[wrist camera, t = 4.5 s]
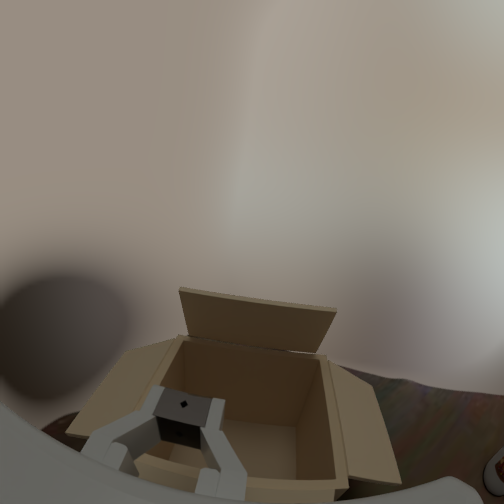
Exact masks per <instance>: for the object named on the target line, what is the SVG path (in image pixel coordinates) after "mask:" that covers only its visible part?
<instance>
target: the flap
mask: <svg viewBox="0 0 504 504" xmlns="http://www.w3.org/2000/svg"><path fill="white" fill-rule="evenodd" d="M179 294H180V299H181V303H182V308H183V312H184V317H185V321H186V325H187V329H188V333H189V335H191V336H196V337H201V338H206V339H212V340H218V341H223V342H230V343H236V344H242V345H249V346H256V347H264V348H272V349H280V350H289V351H299V352H310V353H316V351H317V350H318V348H319V346H320V344H321V342H322V340H323V338H324V337H325V335H326V333H327V331H328V329H329V327H330V325H331V323H332V321H333V319H334V317H335V315H336V313H337V309H336V308H331V307H321V306H312V305H303V304H294V303H287V302H279V301H271V300H263V299H256V298H248V297H242V296H235V295H228V294H221V293H215V292H209V291H202V290H196V289H190V288H184V287H180V288H179Z"/></svg>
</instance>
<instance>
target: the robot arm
mask: <svg viewBox="0 0 504 504" xmlns="http://www.w3.org/2000/svg"><path fill="white" fill-rule="evenodd" d="M225 402H226V400H224V399H218V398H213V397H208V396H202V395H197V394H192V393H186V392H182V391H178V390H174V389H170V388H167V387H163V386H159V385H155V384H154V385H153V386H152V387H151V389H150V391H149V393H148V395H147V397H146V399H145V401H144V403H143V405H142V407H141V409H140V411H137V410H136V411H134V412H132V413H130V414H128V415H126V416H124V417H122V418H120V419H118V420H116V421H114V422H112V423H110V424H107V425H105V426H103V427H101V428H99V429H97V430H95V431H93V432H92V434H91V435H90V437H89V439H88V440H87V442H86V444H85V446H84V447H83V449H82V451H81V452H80V453H79V452H77V451H75V450H73V449H71V448H70V447H68V446H66V445H64V444H62V443H61V442H59V441H57V440H55V439H54V438H52V437H50V436H49V435H47V434H45V433H44V432H42V431H41V430H39V429H38V428H36V427H35V426H33V425H32V424H30V423H29V422H27V421H26V420H24V419H23V418H21V417H20V416H19V415H17V414H16V413H15V412H13V411H12V410H11V409H9V408H8V407H7V406H6V405H4V404H3V403H2V402H1V401H0V504H483V501H482V499H481V498H480V496H479V494H478V493H477V491H476V490H475V489H474V488H472V487H471V486H469V485H467V484H466V483H464V482H462V481H460V480H459V479H457V478H454V477H452V476H448V477H444V478H441V479H438V480H435V481H432V482H429V483H426V484H423V485H419V486H416V487H412V488H409V489H405V490H401V491H397V492H392V493H388V494H383V495H378V496H372V497H366V498H360V499H353V500H345V501H335V502H322V503H263V502H250V501H244V500H245V491H246V482H247V472H246V470H245V469H244V467H243V465H242V464H241V462H240V460H239V459H238V457H237V455H236V454H235V452H234V450H233V448H232V447H231V445H230V443H229V441H228V440H227V438H226V436H225V434H224V432H223V431H222V428H223V420H224V412H225ZM161 440H162V441H166V442H170V443H175V444H179V445H183V446H187V447H191V448H195V449H199V450H201V452H202V454H203V457H204V459H205V461H206V464H207V466H208V468H203V469H201V470H200V474H199V478H198V482H197V486H196V489H195V493H192V492H187V491H183V490H179V489H175V488H171V487H167V486H164V485H160V484H157V483H154V482H150V481H147V480H144V479H141V478H138V477H139V472H138V470H137V468H136V466H135V464H134V462H133V461H134V460H136V459H137V458H138V457H140V456H141V455H143V454H144V453H146V452H147V451H148V450H150V449H151V448H153V447H154V446H155V445H157V444H158V443H159V442H161Z"/></svg>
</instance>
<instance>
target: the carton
mask: <svg viewBox="0 0 504 504" xmlns="http://www.w3.org/2000/svg"><path fill="white" fill-rule="evenodd" d="M154 384H155V385H159V386H163V387H167V388H170V389H174V390H178V391H182V392H186V393H192V394H197V395H202V396H208V397H213V398H218V399H224V400H226V402H225V412H224V420H223V428H222V431H223V432H224V434H225V436H226V438H227V440H228V441H229V443H230V445H231V447H232V448H233V450H234V452H235V454H236V455H237V457H238V459H239V460H240V462H241V464H242V465H243V467H244V469H245V470H246V472H247V482H246V491H245V500H244V501H250V502H263V503H322V502H335V501H336V500H337V499H338V498H339V497H340V496H341V495H342V494H343V493H344V492H345V491H347V490H348V489H349V484H348V478H350V479H355V480H360V481H366V482H372V483H378V484H385V485H393V486H399V485H401V484H402V482H401V479H400V475H399V471H398V467H397V464H396V460H395V456H394V453H393V450H392V446H391V443H390V439H389V436H388V433H387V430H386V426H385V423H384V420H383V417H382V414H381V411H380V408H379V405H378V402H377V399H376V396H375V393H374V390H373V387H372V386H371V385H369V384H368V383H366V382H364V381H363V380H361V379H359V378H357V377H356V376H354V375H352V374H351V373H349V372H347V371H346V370H344V369H343V368H341V367H339V366H338V365H336V364H334V363H333V362H331V361H329V360H328V361H327V356H326V355H316V354H305V353H295V352H285V351H276V350H268V349H260V348H253V347H246V346H239V345H233V344H227V343H221V342H215V341H209V340H204V339H199V338H193V337H188V336H183V335H178V336H177V338H176V339H170V340H166V341H163V342H159V343H155V344H152V345H148V346H144V347H141V348H136V349H132V350H128V351H126V352H125V353H124V354H123V355H122V357H121V358H120V359H119V361H118V362H117V363H116V364H115V366H114V367H113V368H112V370H111V371H110V372H109V374H108V375H107V376H106V378H105V379H104V380H103V381H102V383H101V384H100V385H99V387H98V388H97V389H96V391H95V392H94V394H93V395H92V396H91V397H90V399H89V400H88V402H87V403H86V404H85V406H84V407H83V408H82V410H81V411H80V412H79V414H78V415H77V417H76V418H75V419H74V421H73V422H72V423H71V425H70V426H69V428H68V429H67V430H66V432H65V433H66V434H67V435H68V436H72V437H78V438H84V439H89V437H90V435H91V434H92V432H93V431H95V430H97V429H99V428H101V427H103V426H105V425H107V424H110V423H112V422H114V421H116V420H118V419H120V418H122V417H124V416H126V415H128V414H130V413H132V412H134V411H136V410H137V411H140V409H141V407H142V405H143V403H144V401H145V399H146V397H147V395H148V393H149V391H150V389H151V387H152V386H153V385H154ZM133 462H134V464H135V466H136V468H137V470H138V472H139V477H138V478H141V479H144V480H147V481H150V482H154V483H157V484H160V485H164V486H167V487H171V488H175V489H179V490H183V491H187V492H192V493H195V489H196V486H197V482H198V478H199V474H200V470H201V469H203V468H208V466H207V464H206V461H205V459H204V457H203V454H202V452H201V450H199V449H195V448H191V447H187V446H183V445H179V444H175V443H170V442H166V441H162V440H161V442H159V443H158V444H157V445H155V446H154V447H153V448H151V449H150V450H148V451H147V452H146V453H144V454H143V455H141V456H140V457H138V458H137V459H136V460H134V461H133Z"/></svg>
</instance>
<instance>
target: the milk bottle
mask: <svg viewBox="0 0 504 504" xmlns="http://www.w3.org/2000/svg"><path fill="white" fill-rule="evenodd" d="M484 483H485V486H486V488H487V489H488V490H489V491H490V492H491V493H492V494H494V495H497V496H502V495H504V446H503V447H502V448H501V449H500V450H499V451H498V452H497V453H496V455H495V456H494V457H493V458H492V459H491V460H490V461H489V462H488V464H487V466H486V468H485V470H484Z"/></svg>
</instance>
